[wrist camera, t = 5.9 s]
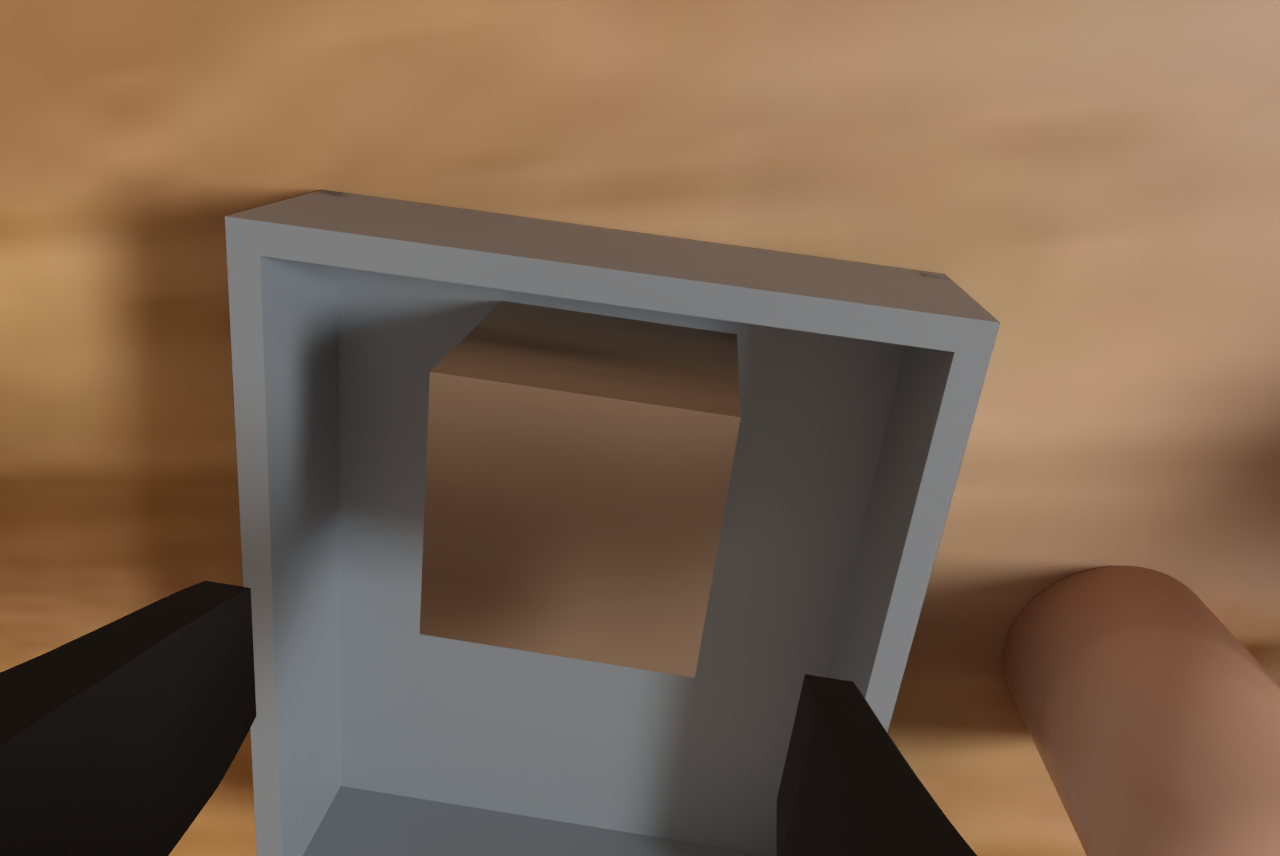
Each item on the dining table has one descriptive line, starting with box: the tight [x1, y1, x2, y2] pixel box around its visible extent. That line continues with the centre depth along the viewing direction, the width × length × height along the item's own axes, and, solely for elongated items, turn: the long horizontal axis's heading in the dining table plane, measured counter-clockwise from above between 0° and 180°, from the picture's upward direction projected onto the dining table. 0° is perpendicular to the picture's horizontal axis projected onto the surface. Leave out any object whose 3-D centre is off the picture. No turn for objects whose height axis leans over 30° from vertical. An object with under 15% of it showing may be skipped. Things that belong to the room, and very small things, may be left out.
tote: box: [225, 190, 1000, 856], centre depth 20 cm, size 16×13×4 cm
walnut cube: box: [420, 301, 741, 678], centre depth 18 cm, size 5×5×5 cm
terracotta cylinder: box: [1003, 566, 1280, 856], centre depth 18 cm, size 5×5×7 cm
